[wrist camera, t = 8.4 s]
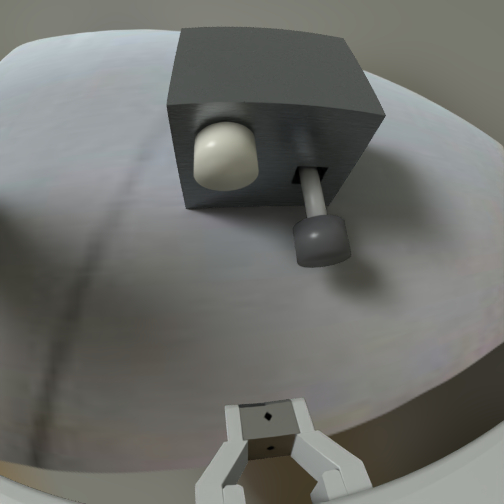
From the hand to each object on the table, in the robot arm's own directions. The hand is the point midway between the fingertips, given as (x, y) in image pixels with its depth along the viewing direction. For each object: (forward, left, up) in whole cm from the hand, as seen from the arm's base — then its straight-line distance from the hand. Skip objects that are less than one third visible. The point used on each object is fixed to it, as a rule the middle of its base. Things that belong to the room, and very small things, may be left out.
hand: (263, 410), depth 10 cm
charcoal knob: (+15, +5, -13) cm, 21 cm away
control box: (+19, +14, -17) cm, 29 cm away
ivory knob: (+13, +14, -8) cm, 21 cm away
